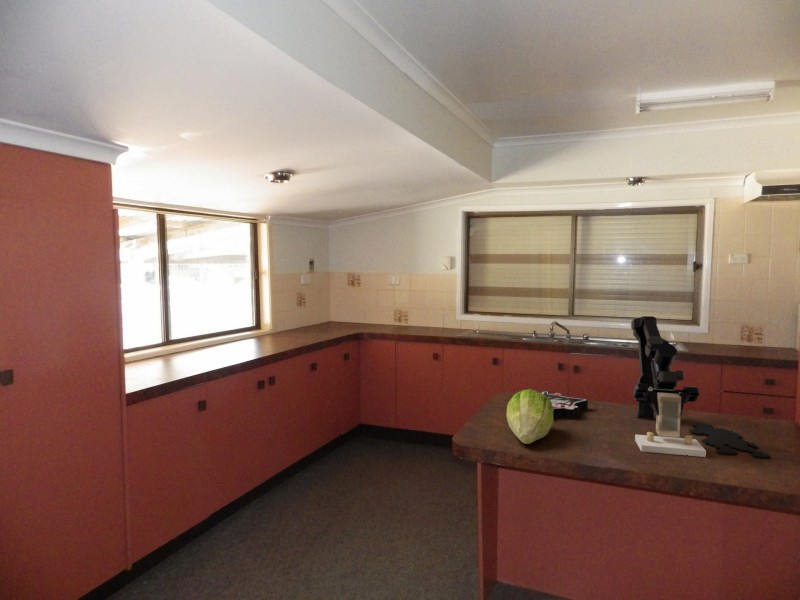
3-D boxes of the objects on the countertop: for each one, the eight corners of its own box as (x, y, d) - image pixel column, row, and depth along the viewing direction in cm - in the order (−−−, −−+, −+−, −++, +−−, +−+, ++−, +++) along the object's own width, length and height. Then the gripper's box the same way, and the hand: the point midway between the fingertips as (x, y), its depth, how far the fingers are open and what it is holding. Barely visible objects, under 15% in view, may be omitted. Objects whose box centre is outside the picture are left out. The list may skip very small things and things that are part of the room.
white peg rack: (635, 440, 166) (635, 427, 165) (695, 445, 161) (696, 431, 160) (641, 451, 156) (641, 437, 156) (705, 457, 151) (706, 442, 151)
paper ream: (655, 431, 163) (657, 392, 162) (676, 433, 161) (677, 393, 160) (658, 435, 159) (660, 396, 158) (679, 437, 157) (681, 397, 156)
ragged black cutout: (771, 460, 149) (729, 427, 179) (771, 457, 149) (730, 425, 178) (712, 455, 153) (681, 424, 182) (712, 452, 153) (681, 421, 182)
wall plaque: (589, 396, 205) (579, 416, 179) (589, 406, 206) (578, 428, 179) (522, 388, 218) (502, 406, 192) (522, 397, 219) (502, 416, 192)
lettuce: (552, 463, 159) (503, 461, 165) (557, 416, 179) (513, 416, 186) (545, 426, 154) (495, 426, 160) (551, 382, 174) (506, 383, 181)
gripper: (636, 359, 165) (641, 401, 155) (699, 362, 160) (709, 405, 150) (630, 377, 173) (635, 417, 163) (690, 380, 168) (699, 422, 158)
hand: (669, 415), depth 158 cm, fingers closed on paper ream, 6 cm apart
